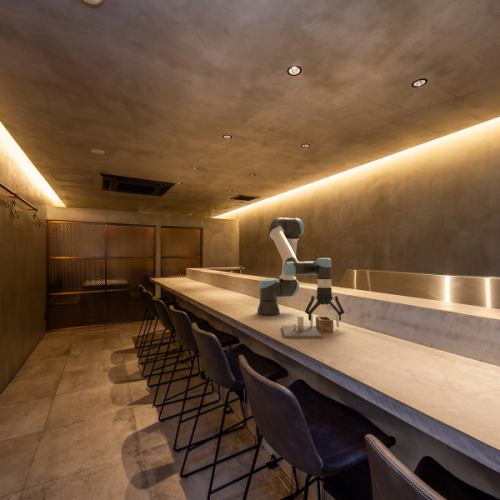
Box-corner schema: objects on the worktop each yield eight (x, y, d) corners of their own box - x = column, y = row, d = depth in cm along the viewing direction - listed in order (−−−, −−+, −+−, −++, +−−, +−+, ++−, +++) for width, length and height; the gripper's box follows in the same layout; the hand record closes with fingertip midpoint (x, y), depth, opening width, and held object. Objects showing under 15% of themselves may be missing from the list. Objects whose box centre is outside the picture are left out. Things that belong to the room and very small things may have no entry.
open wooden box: (315, 326, 159) (315, 315, 159) (328, 326, 159) (328, 315, 159) (319, 332, 149) (319, 320, 149) (333, 332, 149) (333, 320, 149)
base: (281, 328, 157) (281, 313, 157) (315, 328, 156) (314, 313, 157) (284, 337, 139) (284, 321, 139) (322, 338, 138) (322, 321, 139)
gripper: (301, 287, 151) (301, 328, 151) (350, 287, 150) (350, 328, 150) (299, 286, 159) (299, 324, 158) (345, 286, 158) (346, 325, 157)
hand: (324, 326), depth 154 cm, fingers open, 13 cm apart
